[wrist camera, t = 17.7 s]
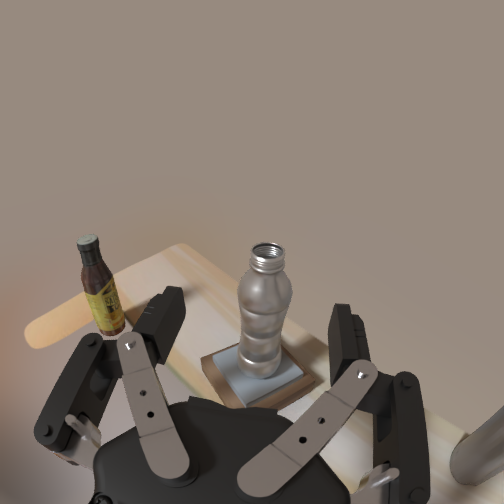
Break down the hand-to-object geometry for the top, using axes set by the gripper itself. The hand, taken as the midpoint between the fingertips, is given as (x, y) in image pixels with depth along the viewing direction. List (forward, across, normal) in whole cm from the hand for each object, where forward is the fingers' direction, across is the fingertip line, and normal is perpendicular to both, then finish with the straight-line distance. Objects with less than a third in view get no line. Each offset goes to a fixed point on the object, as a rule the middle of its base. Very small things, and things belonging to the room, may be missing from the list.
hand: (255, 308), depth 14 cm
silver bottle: (+14, +1, +25) cm, 29 cm away
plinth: (+14, +1, +30) cm, 33 cm away
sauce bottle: (+20, +31, +30) cm, 48 cm away
